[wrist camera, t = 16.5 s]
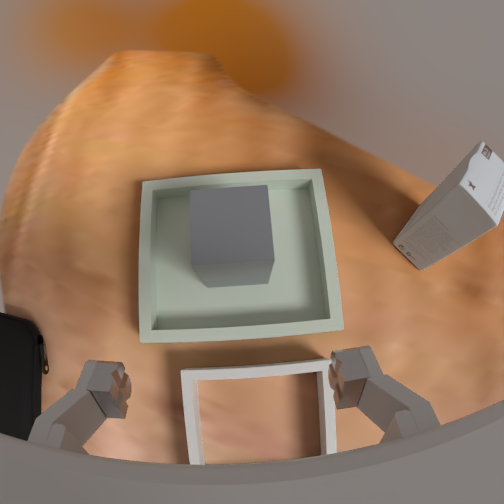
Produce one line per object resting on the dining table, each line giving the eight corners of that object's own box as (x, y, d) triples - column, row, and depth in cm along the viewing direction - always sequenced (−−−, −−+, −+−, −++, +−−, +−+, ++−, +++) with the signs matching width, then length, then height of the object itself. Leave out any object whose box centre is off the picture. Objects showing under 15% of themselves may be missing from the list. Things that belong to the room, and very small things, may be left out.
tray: (149, 343, 26) (139, 342, 24) (150, 193, 30) (142, 181, 28) (336, 330, 27) (344, 329, 24) (316, 181, 30) (321, 168, 28)
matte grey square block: (208, 287, 27) (191, 265, 19) (206, 231, 28) (190, 190, 21) (268, 283, 27) (274, 260, 19) (263, 227, 29) (267, 184, 21)
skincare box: (421, 273, 28) (500, 232, 16) (388, 242, 29) (456, 184, 17) (448, 229, 29) (520, 178, 18) (418, 200, 30) (481, 137, 18)
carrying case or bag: (56, 462, 23) (58, 326, 27) (41, 470, 20) (41, 323, 24) (-12, 429, 23) (-9, 309, 27) (-28, 433, 20) (-27, 305, 24)
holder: (199, 488, 23) (195, 500, 20) (186, 368, 26) (180, 370, 23) (330, 478, 23) (337, 489, 20) (324, 357, 26) (331, 359, 24)
